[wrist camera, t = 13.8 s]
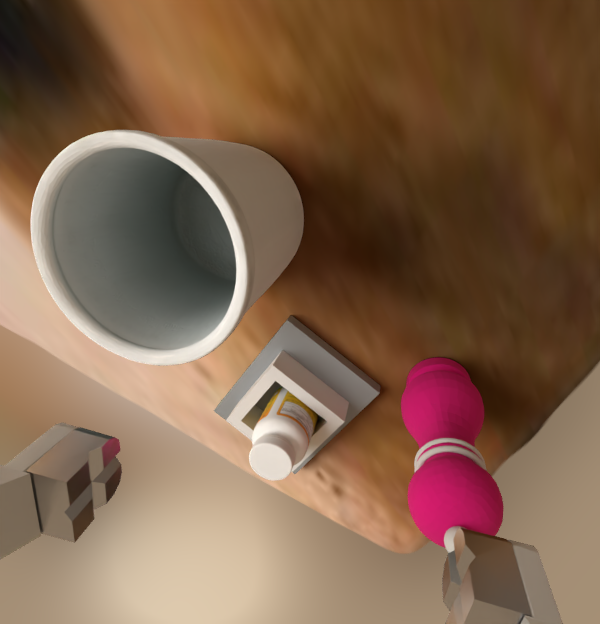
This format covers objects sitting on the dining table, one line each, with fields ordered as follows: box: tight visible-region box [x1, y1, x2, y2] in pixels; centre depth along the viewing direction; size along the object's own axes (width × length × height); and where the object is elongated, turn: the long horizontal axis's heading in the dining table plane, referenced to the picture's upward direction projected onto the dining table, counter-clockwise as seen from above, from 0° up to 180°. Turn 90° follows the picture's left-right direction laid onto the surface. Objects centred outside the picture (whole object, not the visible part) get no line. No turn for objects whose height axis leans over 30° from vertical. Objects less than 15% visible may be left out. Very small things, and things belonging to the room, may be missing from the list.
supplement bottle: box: [249, 386, 319, 480], centre depth 41 cm, size 5×5×10 cm
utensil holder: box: [31, 130, 304, 366], centre depth 34 cm, size 15×15×18 cm
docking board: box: [214, 315, 381, 474], centre depth 45 cm, size 12×15×5 cm
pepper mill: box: [401, 357, 503, 553], centre depth 34 cm, size 7×7×20 cm
